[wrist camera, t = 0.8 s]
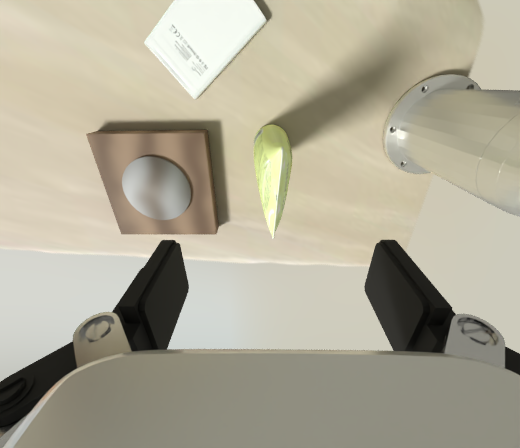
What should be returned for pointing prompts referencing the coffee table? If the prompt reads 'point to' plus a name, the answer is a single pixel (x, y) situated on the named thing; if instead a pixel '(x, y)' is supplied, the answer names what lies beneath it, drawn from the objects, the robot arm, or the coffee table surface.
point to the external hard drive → (203, 38)
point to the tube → (272, 171)
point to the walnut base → (158, 180)
